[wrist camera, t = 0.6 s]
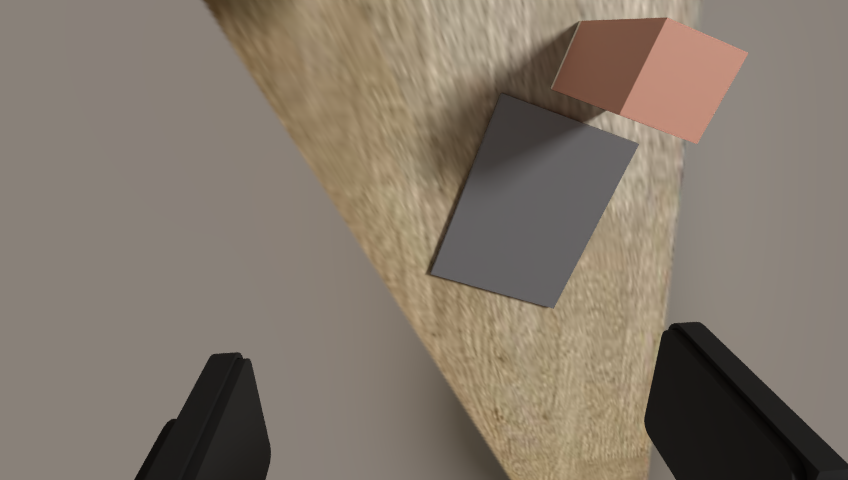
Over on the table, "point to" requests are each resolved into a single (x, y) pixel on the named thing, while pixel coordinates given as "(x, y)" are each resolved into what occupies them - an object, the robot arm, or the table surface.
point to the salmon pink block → (650, 72)
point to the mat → (531, 202)
